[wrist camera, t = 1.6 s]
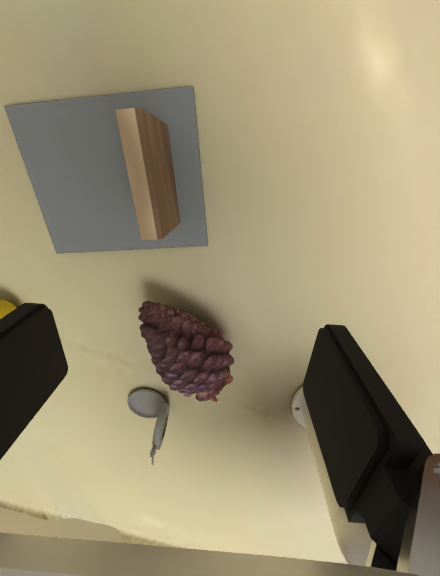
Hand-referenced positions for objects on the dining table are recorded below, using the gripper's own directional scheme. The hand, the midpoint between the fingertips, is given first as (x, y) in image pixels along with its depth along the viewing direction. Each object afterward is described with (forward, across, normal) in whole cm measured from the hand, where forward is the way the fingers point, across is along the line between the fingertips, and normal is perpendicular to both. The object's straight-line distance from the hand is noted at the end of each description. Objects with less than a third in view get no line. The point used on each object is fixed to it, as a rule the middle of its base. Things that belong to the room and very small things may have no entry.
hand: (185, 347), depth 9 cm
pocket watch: (+23, +10, +33) cm, 41 cm away
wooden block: (+23, +6, -4) cm, 25 cm away
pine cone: (+24, +2, +17) cm, 29 cm away
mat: (+24, +12, -3) cm, 27 cm away
